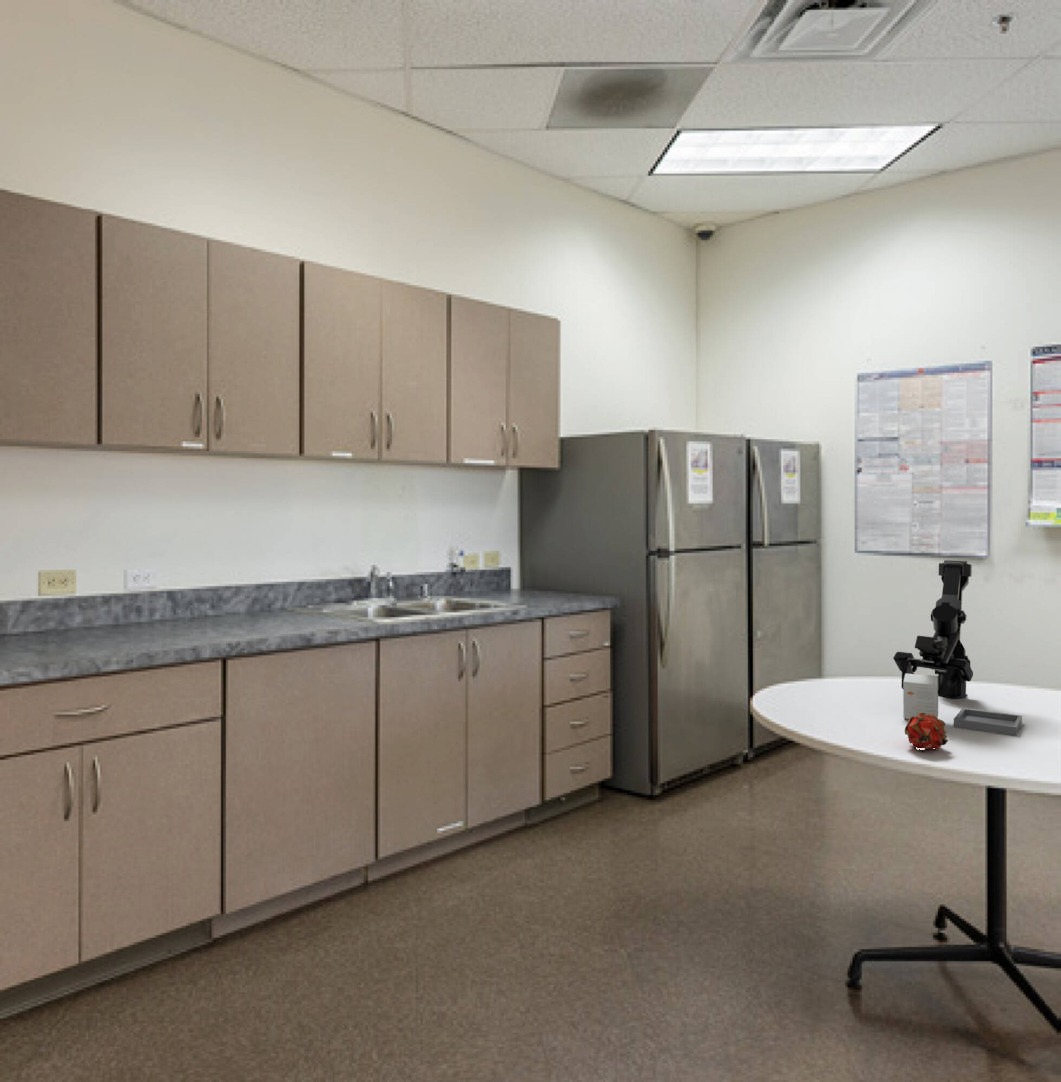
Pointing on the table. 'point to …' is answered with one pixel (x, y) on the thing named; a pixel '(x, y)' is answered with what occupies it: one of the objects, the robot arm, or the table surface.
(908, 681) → the small box
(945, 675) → the robot arm
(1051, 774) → the table surface
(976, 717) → the tray
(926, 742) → the dragon fruit
